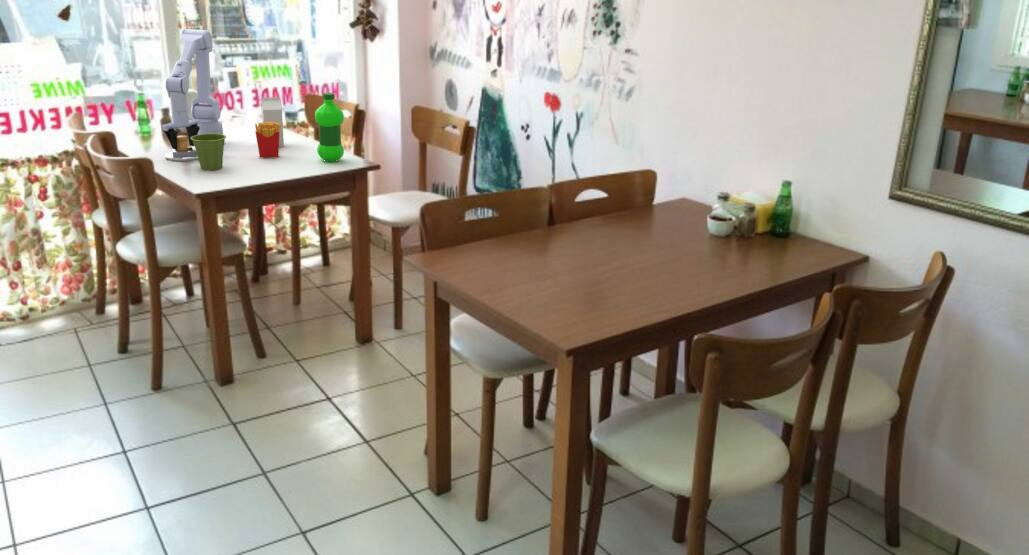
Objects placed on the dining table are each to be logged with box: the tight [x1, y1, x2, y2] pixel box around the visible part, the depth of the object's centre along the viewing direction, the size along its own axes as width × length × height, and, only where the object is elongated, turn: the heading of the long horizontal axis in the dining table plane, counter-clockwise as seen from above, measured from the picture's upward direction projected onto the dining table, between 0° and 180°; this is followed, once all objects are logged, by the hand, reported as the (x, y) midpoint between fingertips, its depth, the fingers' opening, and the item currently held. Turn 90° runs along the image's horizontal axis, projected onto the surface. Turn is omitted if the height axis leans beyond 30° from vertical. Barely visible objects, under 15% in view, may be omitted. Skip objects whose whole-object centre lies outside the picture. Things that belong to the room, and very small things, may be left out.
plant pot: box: [191, 134, 227, 171], centre depth 295 cm, size 12×12×11 cm
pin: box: [176, 135, 189, 152], centre depth 308 cm, size 5×5×7 cm
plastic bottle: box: [314, 92, 345, 162], centre depth 311 cm, size 10×10×25 cm
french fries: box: [254, 122, 281, 158], centre depth 314 cm, size 9×4×13 cm, turn 108°
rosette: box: [165, 146, 199, 163], centre depth 310 cm, size 20×13×3 cm, turn 113°
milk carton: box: [260, 97, 285, 148], centre depth 330 cm, size 7×7×19 cm
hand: (183, 147), depth 308 cm, fingers open, 7 cm apart
